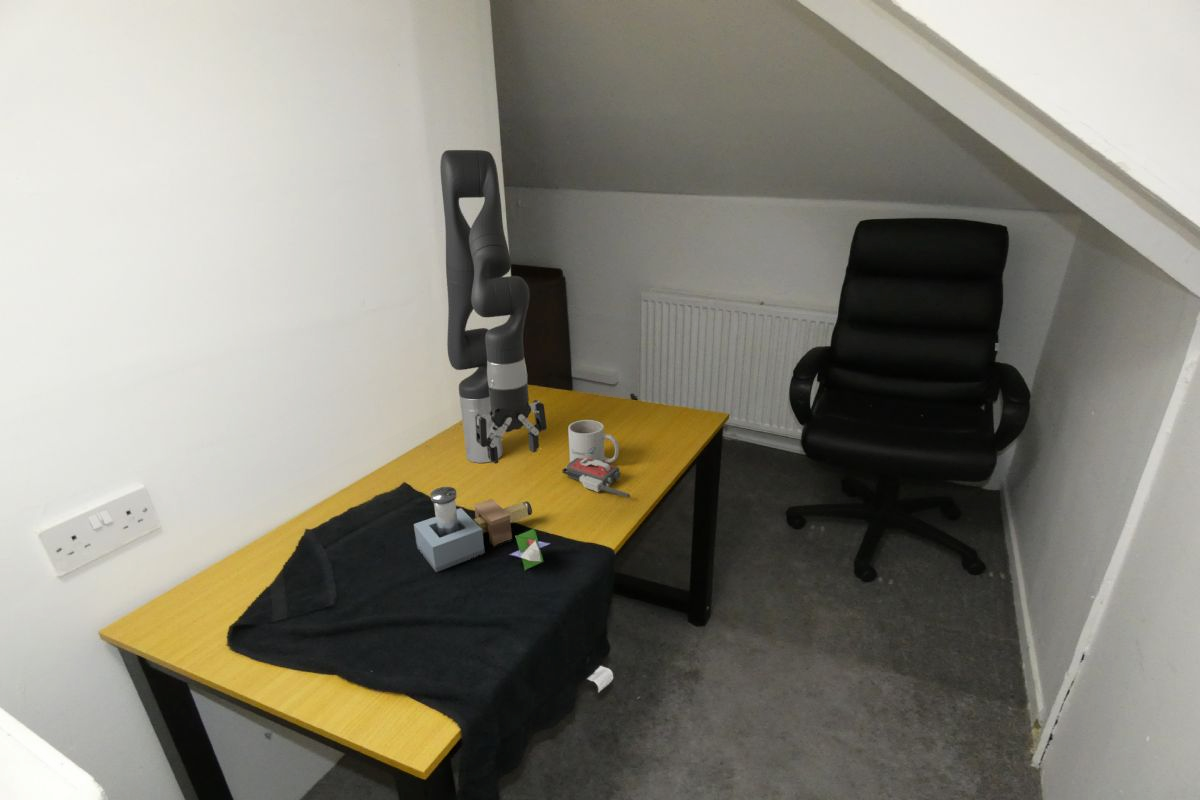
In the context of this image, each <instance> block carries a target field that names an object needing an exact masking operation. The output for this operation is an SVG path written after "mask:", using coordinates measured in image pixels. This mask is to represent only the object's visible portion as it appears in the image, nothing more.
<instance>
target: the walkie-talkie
mask: <svg viewBox="0 0 1200 800" xmlns="http://www.w3.org/2000/svg"><path fill="white" fill-rule="evenodd" d="M561 472H562V474H565V475H567V478H570V479H572V480H573V479H574V480H576V481H578V482H581V484H582V485H583V487H584V488H585V489H589V490H591V491H595V492H597V493H599V492H600V491H602V492H607V493H611V494H614V495H617V496H623V497H626V498H630V497H631V494H630V493H628V492H624V491H621V490H618V489H616V488H612V487H610V486H611V484H613V483H614V482H615V481H619V479H620V478H621V472H620V468H619V466H615V465H611V463H605V462H602V461H599V460H593V459H587V458H585V459H584V458H576V459H574V460H573V461H571V462H570V461H569V463H567V465H566V467H565V468H562V470H561Z"/></svg>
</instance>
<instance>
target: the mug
mask: <svg viewBox="0 0 1200 800" xmlns="http://www.w3.org/2000/svg"><path fill="white" fill-rule="evenodd" d="M604 426H605V425H604V424H603V423H602V422H599V421H597V420H593V419H582V420H581V419H580V420H576V421H575V422H574V421H573V422H571V423H570V424H569V425H568V427H567V428H568V429H567V430H568V448H569V449H568V450H569V463H570V462H571V461H573V460H574V459H576V458H584V459H585V458H587V459H593V460H599V461H602V462H605V463H608V464H611V463H614V462H615V461H616V460H617V458H618V455H619V450H620V448H619V442H618V441H617V439H616V437H614V436H613V435H612V434H610V433H609V434H608V433H604V430H605V428H604ZM606 439H607V440H610V441H611V442H612V444H613V446H614V455H613V457H612V458H610V457H606V456H605V440H606Z"/></svg>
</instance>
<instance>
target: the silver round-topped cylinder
mask: <svg viewBox="0 0 1200 800" xmlns="http://www.w3.org/2000/svg"><path fill="white" fill-rule="evenodd" d="M457 497H458V495H457V489H455V487H452V486H441V487H438V488H435V489H433V490H432V491H431V492H430V501H431V502H432V503H433V506H434V507H433V508H434V515H435V517H436V522H437V529H438V537H439V538H441V537H443V536H446V535H449V534H452V533H454V532H457V531H459V527H458V519H457V511H456V510H457V504H456V499H457Z"/></svg>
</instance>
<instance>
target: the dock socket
mask: <svg viewBox="0 0 1200 800" xmlns="http://www.w3.org/2000/svg"><path fill="white" fill-rule="evenodd" d="M456 511H457V519H458V527H459V531H457V532H454V533H452V534H449V535H446V536H443V537H441V538H439V537H438V529H437V522H436V516H434V517H430V518H428V519H425V520H421V521H419V522H416V523H414V524H413V528H414V529H413V530H414V534H415V535H414V536H415V543H416V547H417V550H418V551H419V550H420V551H419V553H421V555H422V554H423V555H422V556H423V558H424V559H425V560H426V561H427V562H428V564H429V565H430V566H431V568H432V569H433V570H434V571H435V572H436V573H438V572H441V571H443V570H445V569H448V568H451V567H454V566H456V565H459V564H462V563H464V562H466V561H469V560H472V559H474V558H477V557H479V556H478V555H480V556H482V555H484V554H483V553H485V554H486V551H485V545H484V533H482V529H481V528H480V527H479V526H478V525H477V524H476V523H475V522H474V519H472V517H470V516H469V515H468V514H467V513H466V511H464V509H463V508H462V507H461V508H456ZM481 554H482V555H481ZM476 556H477V557H476ZM473 557H474V558H473ZM471 558H472V559H471Z"/></svg>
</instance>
